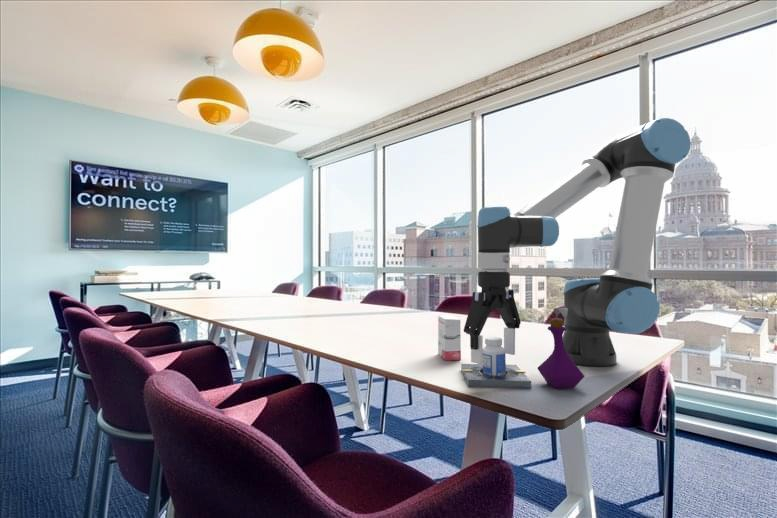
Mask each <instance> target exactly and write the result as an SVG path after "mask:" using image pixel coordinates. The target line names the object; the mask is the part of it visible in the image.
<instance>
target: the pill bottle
mask: <svg viewBox="0 0 777 518" xmlns="http://www.w3.org/2000/svg"><path fill="white" fill-rule="evenodd" d="M484 344H485V346H483V374H486V375H492V376H501V375H506V365H507V363H506V353H505V349H504V346H502V345H503V339H502V338H501V337H498V336H488V337H485V338H484Z"/></svg>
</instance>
